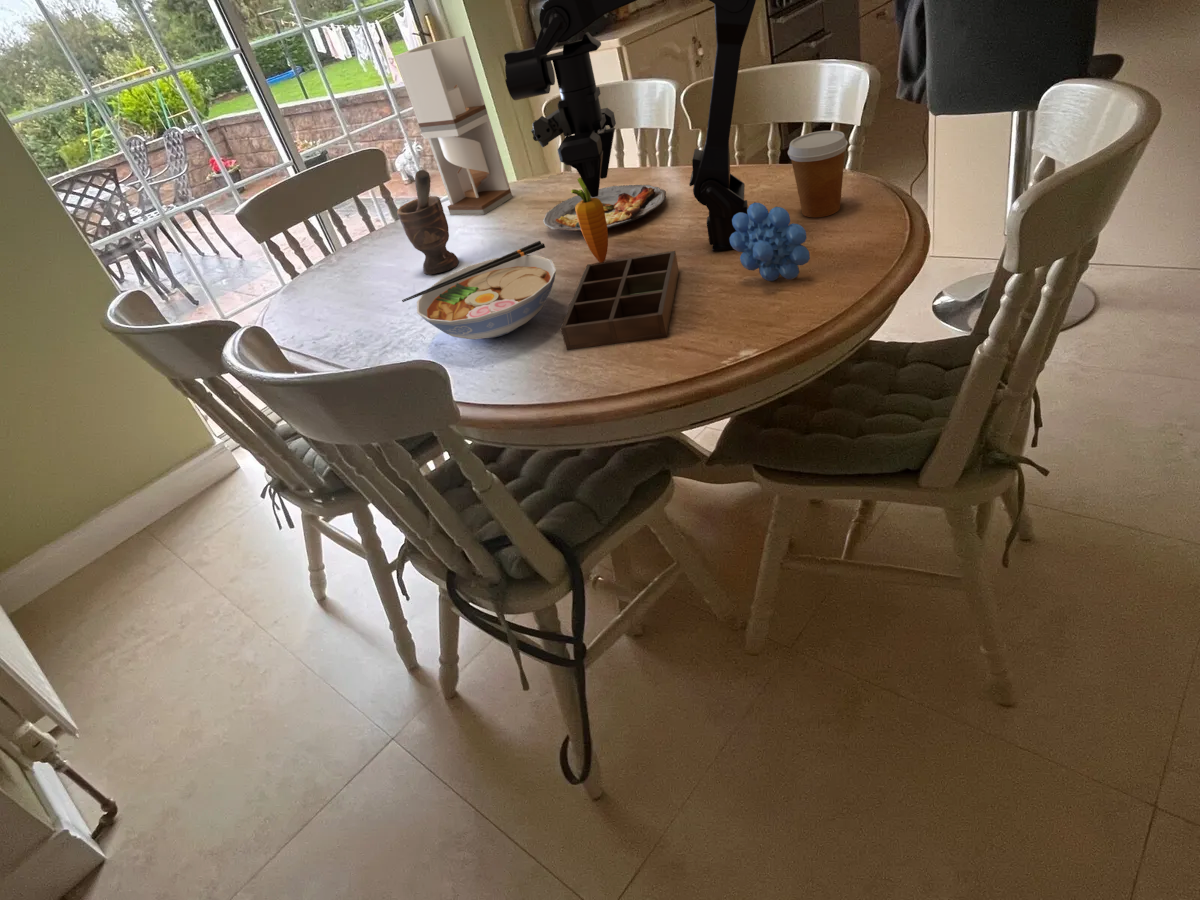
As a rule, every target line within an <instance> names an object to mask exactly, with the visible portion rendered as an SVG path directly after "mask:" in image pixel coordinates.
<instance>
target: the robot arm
mask: <svg viewBox="0 0 1200 900" xmlns="http://www.w3.org/2000/svg"><path fill="white" fill-rule="evenodd" d="M637 1H638V0H546V1H544V3H543V4H542V6H541V8H540V12H539V25H540V31H539V34H538V35H537V36H538V37H537V39H536V41H535V45H534V46H533V47H530V48H525V49H520V50H519V49H518V50H517V49H516V50H515V49H513V50H509V51H507V52H505V53H504V54H503V58H504V61H505V64H504V65H505V66H504V73H505V78H506V79H505V84H506V85H505V86H506V88H507V91H508V94H509V96H510V97H511V99H512V100H513V101H519V100H525V99H529V98H534V97H538V96H542V95H543V96H544V95H548V94H550V93H551V86H554V85H555V83H556V82H557V85H558V91H559V95H560V99H559V100H558V102H557V108H558V109H556V110H555V111H552V112H551V113H550V114H548V115H547V116H546V117H545V116H543V115H540V117H539V118H537V119H535V120H534V121H533V122H532V129H531V131H530V132H531V134H532V140H533V141H535V142H537V141H538V143H539V145H540V146H541V148H545V147H546V146H548V145H549V144H550V142H552V141H553V140H555V139H556V138H557V137H559V136H561V135H563V138H564V139H562V142H561V143H560V145H559V146H558V148H557V154H558V158H559V162H560V163H562V164H564V165H565V166H570V167H572V168H573V169H575V170H576V171H577V173H578V175H579V176H580V177H581V178H582V180H583V182H584V184H585V186H586V188H587V189H588V191H589V193H590V195H591V197H597V196H598V194H599V189H600V184H601V180H604V179H606V178H607V177H608V174H609V166H610V161H611V155H612V148H613V142H614V136H615V131H616V128H615V126H616V124H617V122H616V119H615V118H616V117H615V112H614V111H613V110H611V109H610V108H608V107H604V108H601V102H600V99H599V98H600V95H601V88H600V86H597V84H596V83H597V82H596V79H595V73H594V69H593V65H592V60H591V55H590V53H592V52H596V51H598V50H599V48H601V46H602V42H601V41H600V40H599V39H596V38H595V37H594V36H592V35H591V34H590V32H589V31H587V32H585V33H584V35H583V36H582V39H580V40H575V41H570V42H567V41H569V40H570V39H571V38H574V37H576V35H578V34H579V33H581V32H582V31H583V30H585V29H586V28H588V27H589V26H591V25H592V24H593V23H595V22H597V20H599V19H601V18H602V17H604V16H605V15H607V14H609V13H611V12H613V11H616V10H618V9H620V8H623V7H625V6H627V5H630V4H632V3H635V2H637ZM708 1H709V2H711V3H712V4H714V24H715V25H714V27H715V38H716V39H715V40H716V50H715V51H716V52H715V57H714V58H715V59H714V69H713V77H712V86H711V94H710V100H709V101H710V102H709V111H708V112H709V113H708V119H707V127H706V128H707V129H706V135H705V136H706V137H705V142H704V145H703V148H702V149H699V148H694V149H693V155H692V161H691V163H692V166H691V167H692V171H691V175H690V180H689V187H692V191H693V197H694V199H696V201H697V202H698V203H699V204H700V205H702V206H705V207H706V208H707V210H708V216H706V217H707V218H706V228H707V235H708V241H709V242H708V243H709V245H710V246H712V248H711V249H712V252H713V253H716V252H722V251H728V250H729V251H730V250H734V249H733V248H732V246H731V244H730V240H729V238H730V236H731V234H732V233H734V232H736V230H735V228H734V227H733V224H732V219H733V216H734V215H735V214H737V213H739V212H741V213H746V214H747V215H748V213H747V209H748V207H749V204H748V199H745V186H746V185H745V184H746V183H744V182H743V181H742V180H740V178H738V177H736V176H735V175H734V174H733V173H731V156H730V155H731V154H730V136H731V128H732V121H733V114H734V105H735V98H736V91H737V84H738V75H739V68H740V61H741V53H742V47H743V44H744V41H745V38H746V35H747V31H748V30H749V29H748V28H749V25H750V22H751V19H752V15H753V12H754V9H755V5H756V1H757V0H708ZM564 42H566V43H564ZM559 43H563V45H562V50H561V51H558V52H553V53H550V52H552V50H553V49H555V48H556V47H557V46H558V45H559ZM607 126H608V127H609V128H607Z"/></svg>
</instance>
